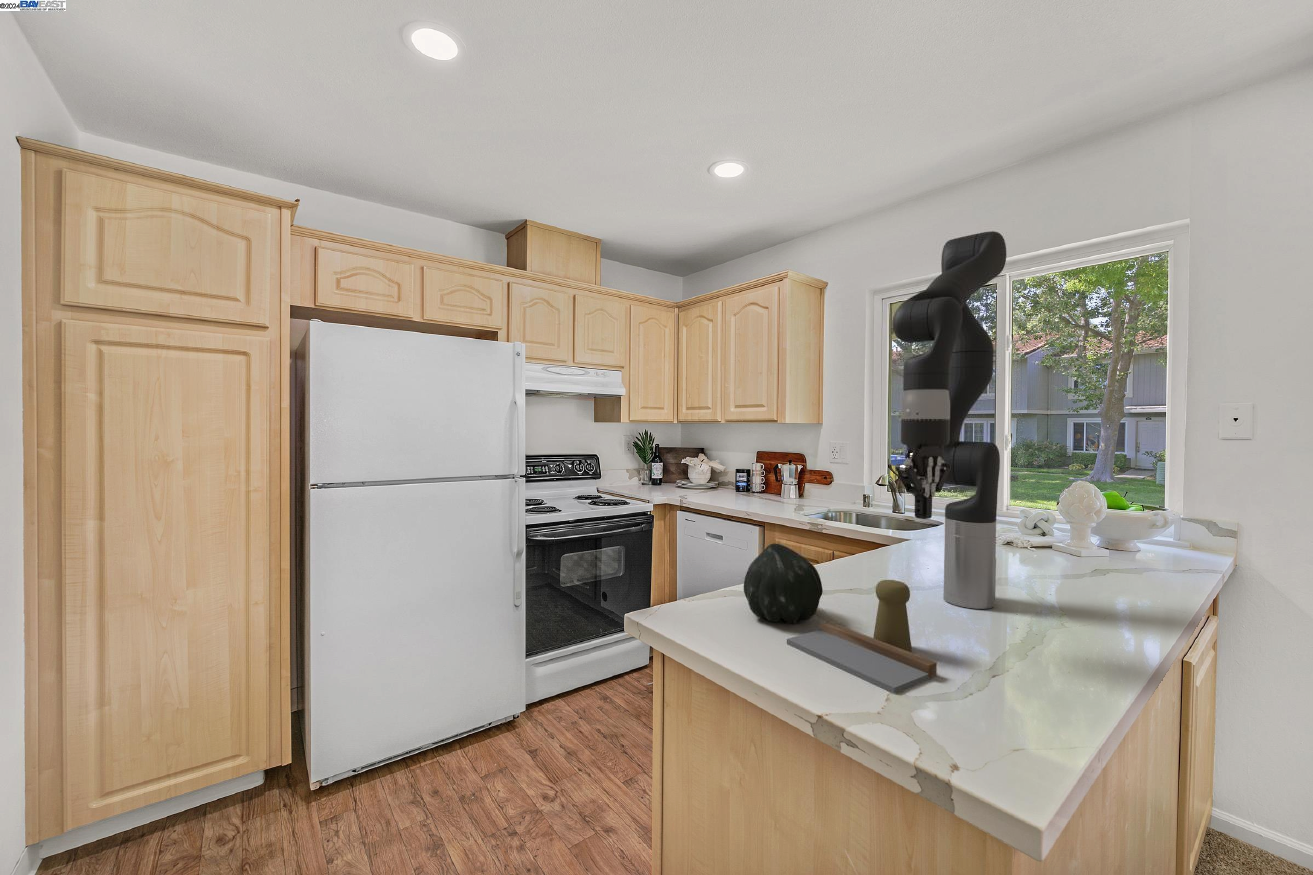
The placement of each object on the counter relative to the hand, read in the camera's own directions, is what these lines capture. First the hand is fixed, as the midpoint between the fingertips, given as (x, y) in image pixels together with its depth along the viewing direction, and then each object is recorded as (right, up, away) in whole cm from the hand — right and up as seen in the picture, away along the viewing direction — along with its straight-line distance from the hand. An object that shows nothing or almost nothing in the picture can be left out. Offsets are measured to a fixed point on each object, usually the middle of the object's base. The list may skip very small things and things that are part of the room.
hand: (923, 518), depth 95 cm
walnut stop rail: (-11, -21, -6) cm, 24 cm away
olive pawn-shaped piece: (-7, -21, -4) cm, 22 cm away
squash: (-22, -21, +11) cm, 32 cm away
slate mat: (-15, -21, -9) cm, 27 cm away
